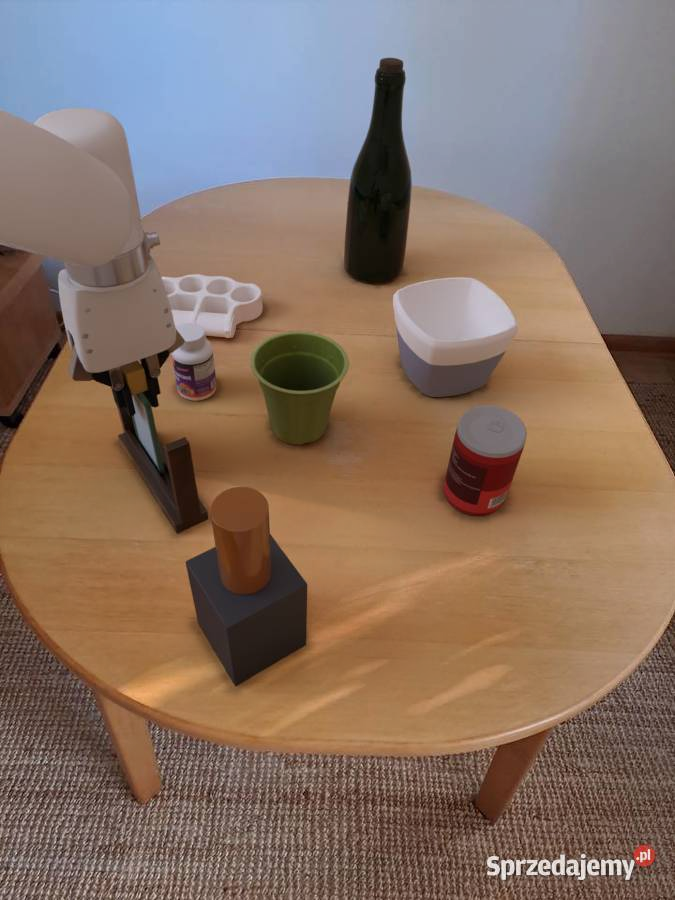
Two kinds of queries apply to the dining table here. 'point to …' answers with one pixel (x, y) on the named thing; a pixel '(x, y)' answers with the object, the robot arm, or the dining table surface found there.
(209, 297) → the white compartment tray
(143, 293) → the robot arm
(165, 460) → the window frame
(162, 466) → the pane
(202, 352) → the pill bottle
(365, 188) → the wine bottle
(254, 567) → the orange-brown cylinder
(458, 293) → the bowl
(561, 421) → the dining table surface
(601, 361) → the dining table surface
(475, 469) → the canned food
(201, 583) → the stand
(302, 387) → the plant pot
